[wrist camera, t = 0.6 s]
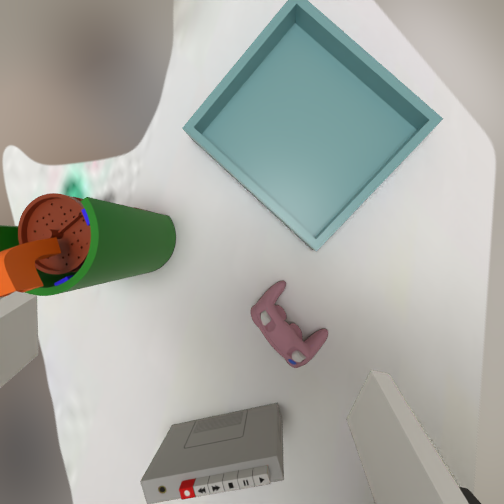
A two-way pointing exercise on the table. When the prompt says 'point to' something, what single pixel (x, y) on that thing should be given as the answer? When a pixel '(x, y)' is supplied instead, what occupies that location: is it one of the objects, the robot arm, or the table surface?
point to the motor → (80, 245)
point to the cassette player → (217, 455)
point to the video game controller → (284, 329)
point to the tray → (310, 122)
